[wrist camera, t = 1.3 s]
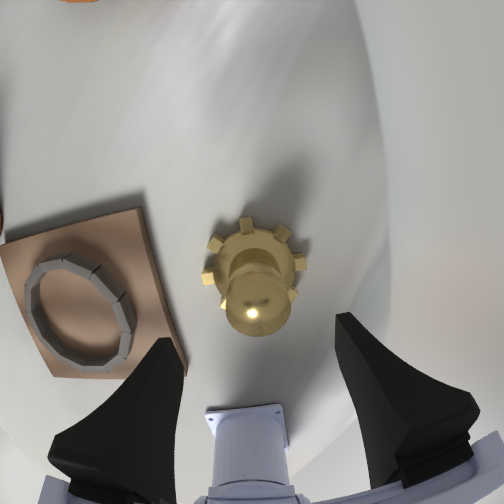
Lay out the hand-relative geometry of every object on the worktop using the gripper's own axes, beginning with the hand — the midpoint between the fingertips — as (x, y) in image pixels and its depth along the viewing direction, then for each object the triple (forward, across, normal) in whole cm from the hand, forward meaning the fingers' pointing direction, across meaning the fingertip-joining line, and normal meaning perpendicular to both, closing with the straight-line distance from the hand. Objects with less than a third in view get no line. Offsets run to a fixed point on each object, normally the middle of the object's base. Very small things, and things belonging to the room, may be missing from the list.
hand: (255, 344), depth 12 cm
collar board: (+10, +16, +4) cm, 19 cm away
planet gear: (+10, 0, +2) cm, 11 cm away
